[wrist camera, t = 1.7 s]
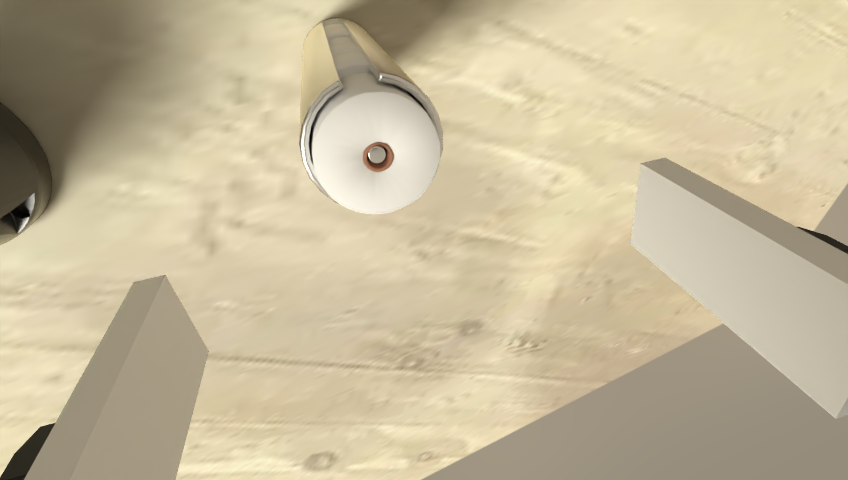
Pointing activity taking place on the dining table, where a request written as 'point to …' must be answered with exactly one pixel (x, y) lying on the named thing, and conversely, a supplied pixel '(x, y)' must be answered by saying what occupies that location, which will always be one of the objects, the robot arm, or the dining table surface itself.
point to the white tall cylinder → (364, 122)
